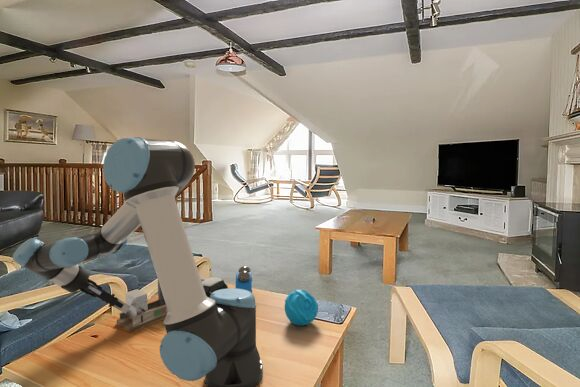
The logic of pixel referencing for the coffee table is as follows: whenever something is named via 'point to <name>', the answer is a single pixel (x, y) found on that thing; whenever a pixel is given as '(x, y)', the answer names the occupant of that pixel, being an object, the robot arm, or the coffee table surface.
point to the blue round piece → (301, 307)
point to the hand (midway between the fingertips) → (127, 309)
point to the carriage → (136, 303)
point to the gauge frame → (145, 315)
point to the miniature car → (213, 285)
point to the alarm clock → (244, 279)
